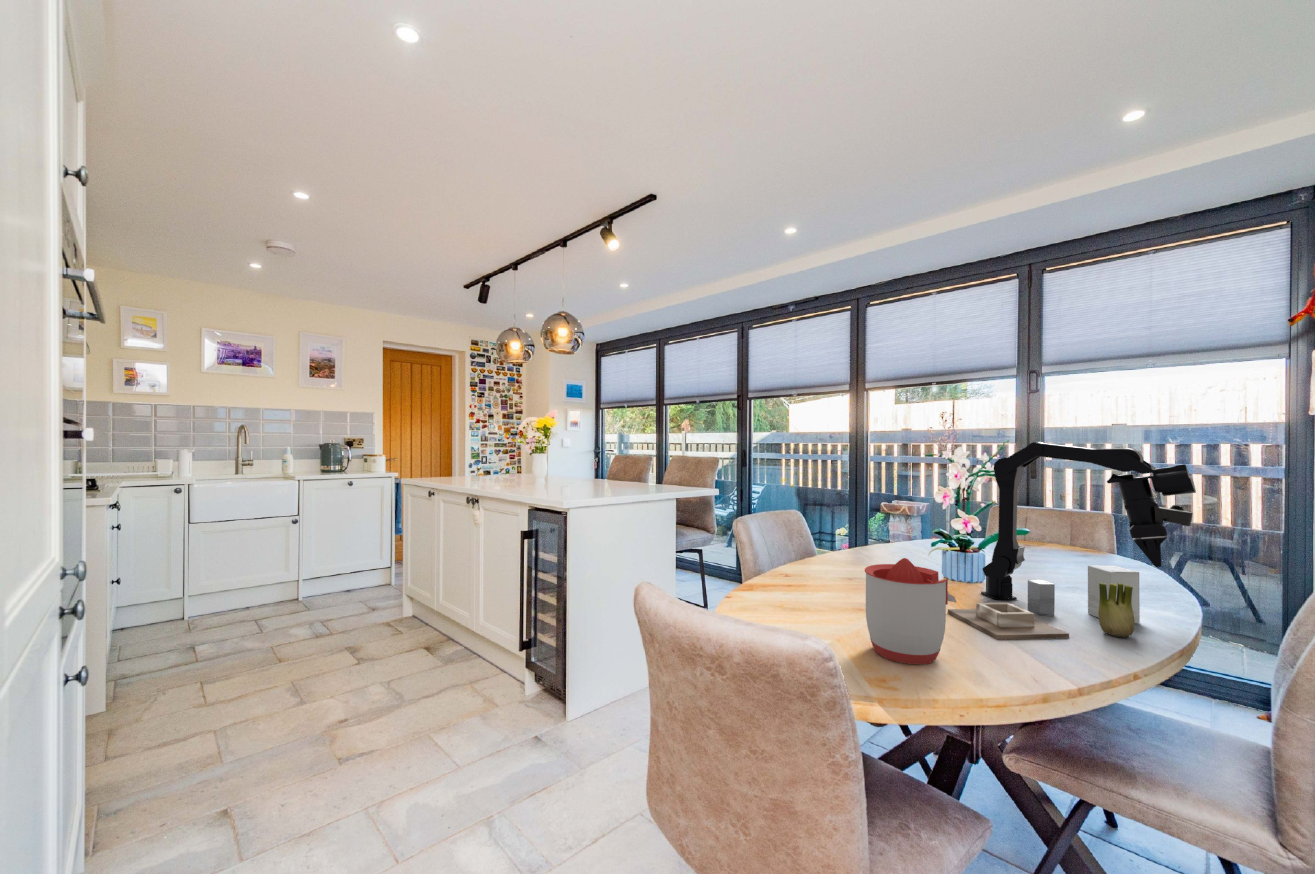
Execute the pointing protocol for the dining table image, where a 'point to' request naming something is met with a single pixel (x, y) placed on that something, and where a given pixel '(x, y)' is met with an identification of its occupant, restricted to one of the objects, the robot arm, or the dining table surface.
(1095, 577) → the supplement box
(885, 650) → the citrus juicer
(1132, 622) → the fennel bulb
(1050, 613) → the metal peg
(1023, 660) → the dining table surface
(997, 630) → the socket board
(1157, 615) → the dining table surface
